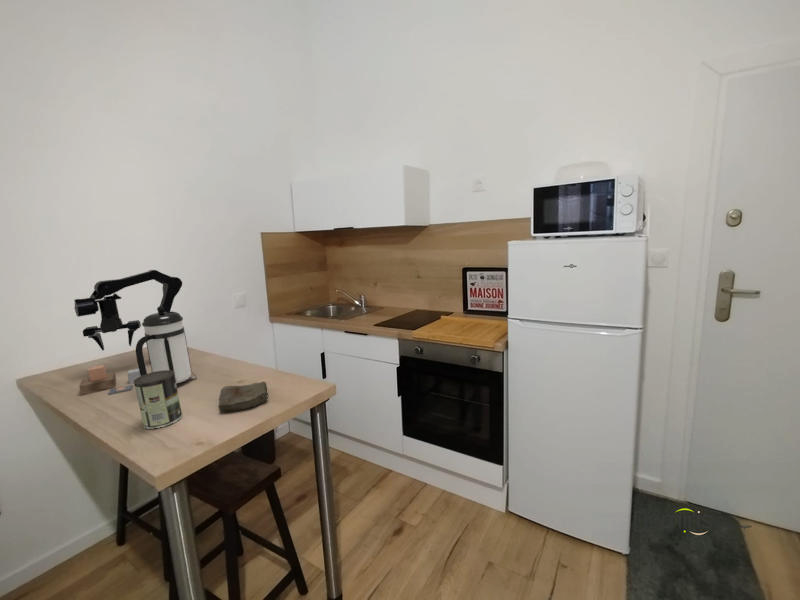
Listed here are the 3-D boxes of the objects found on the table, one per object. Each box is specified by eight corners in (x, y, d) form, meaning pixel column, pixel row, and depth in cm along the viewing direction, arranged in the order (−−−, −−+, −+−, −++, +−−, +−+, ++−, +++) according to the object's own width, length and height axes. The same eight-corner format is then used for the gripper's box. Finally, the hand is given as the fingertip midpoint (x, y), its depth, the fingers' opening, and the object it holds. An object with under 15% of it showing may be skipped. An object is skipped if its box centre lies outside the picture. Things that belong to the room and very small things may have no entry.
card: (133, 385, 145) (133, 384, 145) (131, 390, 141) (131, 388, 141) (110, 390, 142) (110, 388, 142) (108, 395, 138) (107, 393, 138)
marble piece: (223, 396, 130) (221, 385, 130) (268, 388, 135) (266, 377, 134) (217, 417, 115) (215, 404, 114) (268, 407, 119) (266, 395, 119)
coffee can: (175, 409, 122) (167, 367, 119) (187, 418, 115) (179, 374, 112) (138, 423, 114) (128, 378, 112) (148, 433, 107) (139, 386, 105)
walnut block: (116, 381, 153) (114, 371, 152) (115, 388, 144) (113, 378, 144) (84, 388, 147) (82, 378, 146) (81, 396, 139) (79, 386, 138)
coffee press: (150, 382, 147) (135, 306, 142) (196, 373, 154) (184, 300, 149) (144, 399, 132) (127, 314, 126) (196, 387, 139) (182, 307, 133)
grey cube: (144, 378, 153) (142, 367, 152) (142, 381, 149) (140, 371, 149) (131, 380, 151) (128, 370, 150) (129, 384, 147) (127, 373, 147)
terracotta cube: (107, 375, 148) (105, 364, 148) (105, 378, 145) (102, 367, 144) (93, 377, 146) (90, 367, 146) (90, 381, 143) (88, 370, 142)
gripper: (75, 318, 145) (83, 357, 148) (133, 310, 153) (141, 348, 156) (82, 313, 155) (91, 350, 158) (137, 306, 163) (144, 342, 166)
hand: (117, 348), depth 159 cm, fingers open, 9 cm apart
